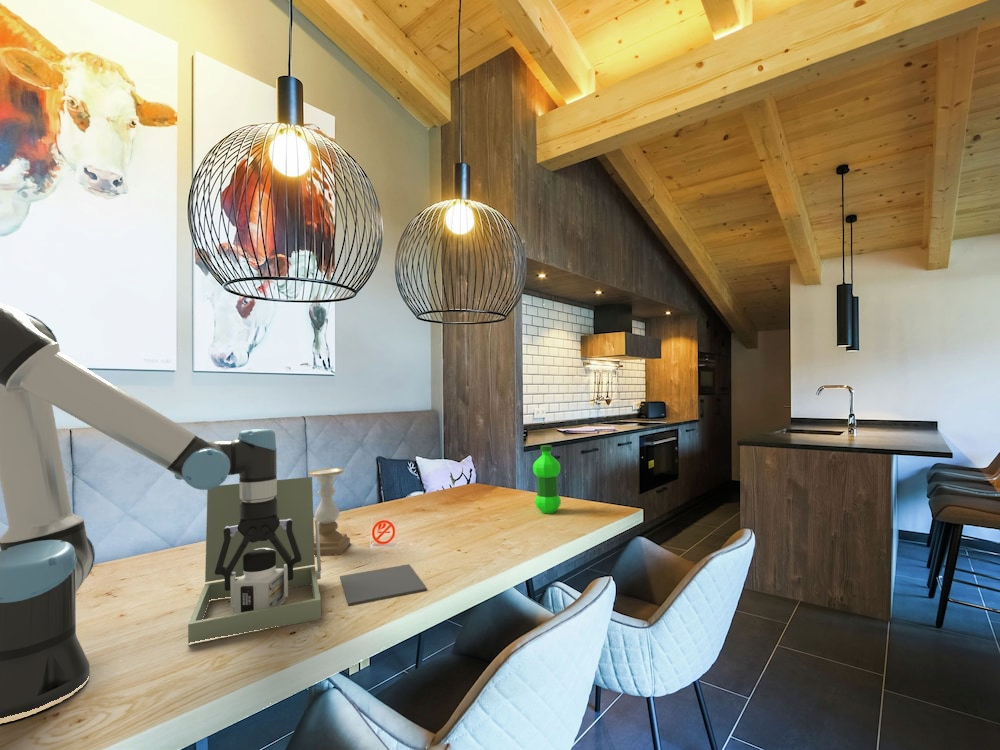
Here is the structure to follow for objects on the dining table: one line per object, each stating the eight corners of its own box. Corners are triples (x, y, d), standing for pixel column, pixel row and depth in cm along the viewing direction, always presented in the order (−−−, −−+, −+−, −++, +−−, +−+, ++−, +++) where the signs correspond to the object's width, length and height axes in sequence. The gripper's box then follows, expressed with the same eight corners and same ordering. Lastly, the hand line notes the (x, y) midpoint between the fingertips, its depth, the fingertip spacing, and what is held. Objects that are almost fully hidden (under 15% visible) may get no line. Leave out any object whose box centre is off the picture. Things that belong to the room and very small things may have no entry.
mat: (426, 590, 117) (426, 588, 117) (348, 605, 110) (348, 603, 110) (409, 566, 134) (409, 564, 134) (340, 577, 127) (339, 576, 127)
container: (269, 617, 105) (268, 556, 106) (233, 618, 106) (232, 557, 106) (285, 601, 113) (284, 544, 114) (252, 602, 113) (251, 545, 114)
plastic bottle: (541, 516, 181) (539, 448, 182) (530, 510, 191) (528, 445, 192) (566, 513, 184) (564, 446, 185) (554, 507, 194) (552, 443, 195)
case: (327, 617, 105) (325, 546, 105) (188, 645, 95) (187, 566, 95) (319, 576, 128) (318, 518, 128) (207, 595, 118) (206, 532, 118)
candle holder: (350, 543, 156) (349, 467, 156) (340, 554, 145) (339, 473, 145) (315, 544, 155) (314, 468, 156) (302, 556, 144) (301, 474, 145)
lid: (312, 474, 130) (311, 475, 132) (207, 483, 121) (208, 484, 122) (314, 564, 124) (314, 564, 126) (204, 582, 115) (205, 581, 116)
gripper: (311, 490, 118) (313, 584, 117) (202, 501, 109) (204, 603, 108) (313, 496, 111) (315, 595, 111) (197, 508, 102) (198, 617, 102)
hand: (260, 599), depth 109 cm, fingers closed on container, 10 cm apart
